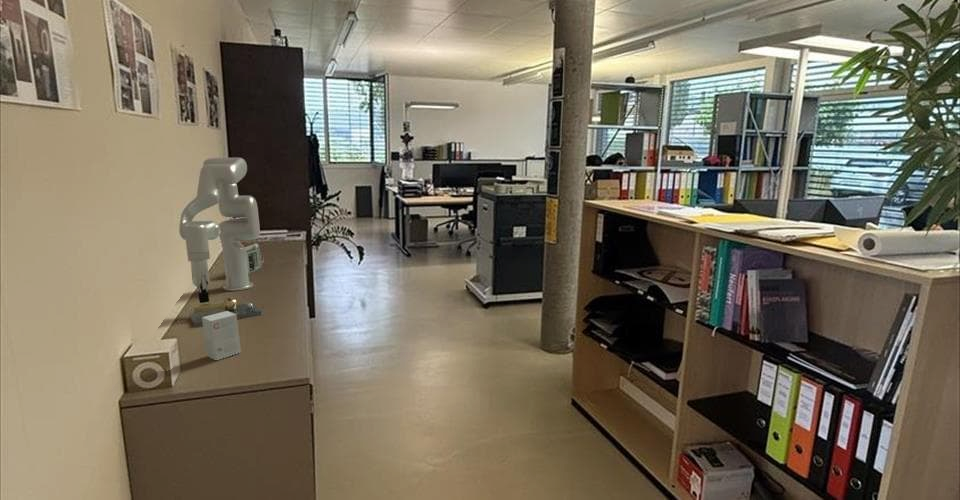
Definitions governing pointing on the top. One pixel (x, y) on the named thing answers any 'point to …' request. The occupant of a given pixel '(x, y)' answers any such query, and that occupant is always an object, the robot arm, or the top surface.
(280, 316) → the top surface
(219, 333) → the small box
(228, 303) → the lever with round hub
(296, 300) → the top surface
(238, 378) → the top surface
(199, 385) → the top surface
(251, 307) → the flat grey rectangular plate
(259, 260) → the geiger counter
